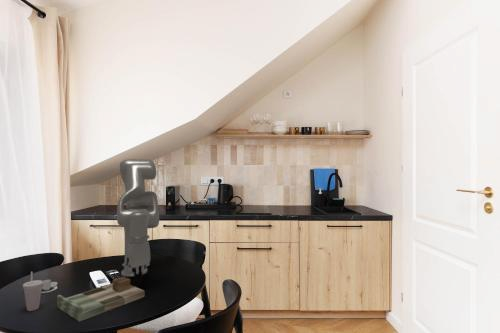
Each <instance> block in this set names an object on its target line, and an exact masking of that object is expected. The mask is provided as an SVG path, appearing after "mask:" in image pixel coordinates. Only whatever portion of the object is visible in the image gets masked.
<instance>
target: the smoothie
mask: <svg viewBox="0 0 500 333" xmlns="http://www.w3.org/2000/svg"><path fill="white" fill-rule="evenodd" d="M33 273H34V272H33V271H30V281H26V282H25V283H23V284H22V289H23V291H24V292H23V293H24V300H25V306H26V311H27V312H31V311H32V312H33V311H36V310H38V309H39V308H40V302H41V295H42V293H41V292H42V290H43V289H42V287H43V281H44V280H41V279H39V280H38V279H36V280H33V279H34V278H33Z"/></svg>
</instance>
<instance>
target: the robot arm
mask: <svg viewBox="0 0 500 333" xmlns="http://www.w3.org/2000/svg"><path fill="white" fill-rule="evenodd" d="M119 172H120V177H121V179H122V183H124V188H125V189H124V190H125V191H124V193H123V194H122V195H121V196H120V198H119V200H118V201H117V204H116V205H117V206H116V220H117V224H118V226H121V227H123V231H124V232H123V233H124V262H123V263H122V265H121V266H122V267H123V269H122V270H121V271H120V272H121V273H120V275H121V277H126V278H129V277H130V278H131V277H133V278H134V283H138V284H140V283H142V282H143V275H145V274H146V273H148V268H147V267H148V266H150V265H151V264H150V262H151V248H150V242H149V241H148V239H150V235H148V229H154V228H157V227H158V226H159V224H160V214H159V213H160V211H159V199H158V195H157V194H156V192H155V191H152V190H151V191H150V190H146V185H145V184H146V182H145V181H146V180H156V178H157V167H156V164H155V162H154V160H152V159H142V158H141V159H140V158H139V159H138V158H137V159H136V158H135V159H134V158H133V159H131V158H130V159H124V160H122V161H121V162H120V163H119ZM125 206H126V208H127V209H124V207H125Z"/></svg>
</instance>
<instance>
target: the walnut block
mask: <svg viewBox="0 0 500 333" xmlns="http://www.w3.org/2000/svg"><path fill="white" fill-rule="evenodd" d="M112 283H113V290H114V291H117V292H122V291H125V290H128V289H130V285H131V279H130V278H129V277H126V276H121V277H118V278H115V279H112Z"/></svg>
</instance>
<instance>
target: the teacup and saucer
mask: <svg viewBox="0 0 500 333" xmlns="http://www.w3.org/2000/svg"><path fill="white" fill-rule="evenodd" d="M42 281H43V285H42V290H43V291H41V294H45V293H51V292H53V291H56V290H57V289H58V286H57V285H58V282H57V281H52V279H46V280H42Z"/></svg>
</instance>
